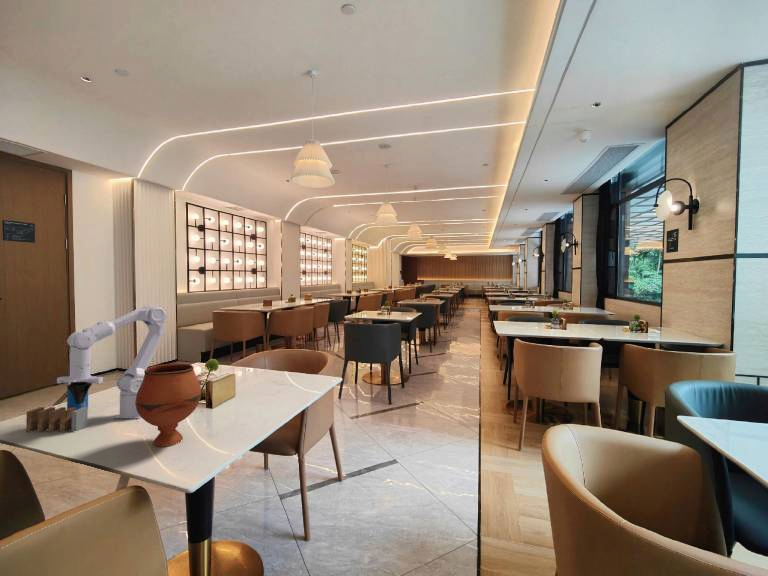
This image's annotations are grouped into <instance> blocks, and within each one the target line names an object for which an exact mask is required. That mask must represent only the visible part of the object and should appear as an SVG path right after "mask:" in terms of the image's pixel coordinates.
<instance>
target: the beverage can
mask: <svg viewBox="0 0 768 576" xmlns="http://www.w3.org/2000/svg"><path fill="white" fill-rule="evenodd" d="M70 384H71V383H68V385H70ZM66 389H67V393H66V397H67V399H66V410H67V409H69V408H72V407H76V410H78V409H80V408H83V407H88V408H89V391H88V392H87V394H86V396H85V400H84V402H83V403H81V404H76V403H75V400H74V397H73V395H72V393H71V391H70V390H69V389H68V388H66Z"/></svg>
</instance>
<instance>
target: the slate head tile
mask: <svg viewBox="0 0 768 576" xmlns="http://www.w3.org/2000/svg"><path fill="white" fill-rule="evenodd" d="M88 411H89V406H88V407H83V408H80V409H78V410H75V411H73V412H72V429H71V432H72V431H73V432H72V433H74V431H77V432H79V431H80V430H83V429H85V428H87V427H88V417H89V415H88V414H89V413H88Z"/></svg>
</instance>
